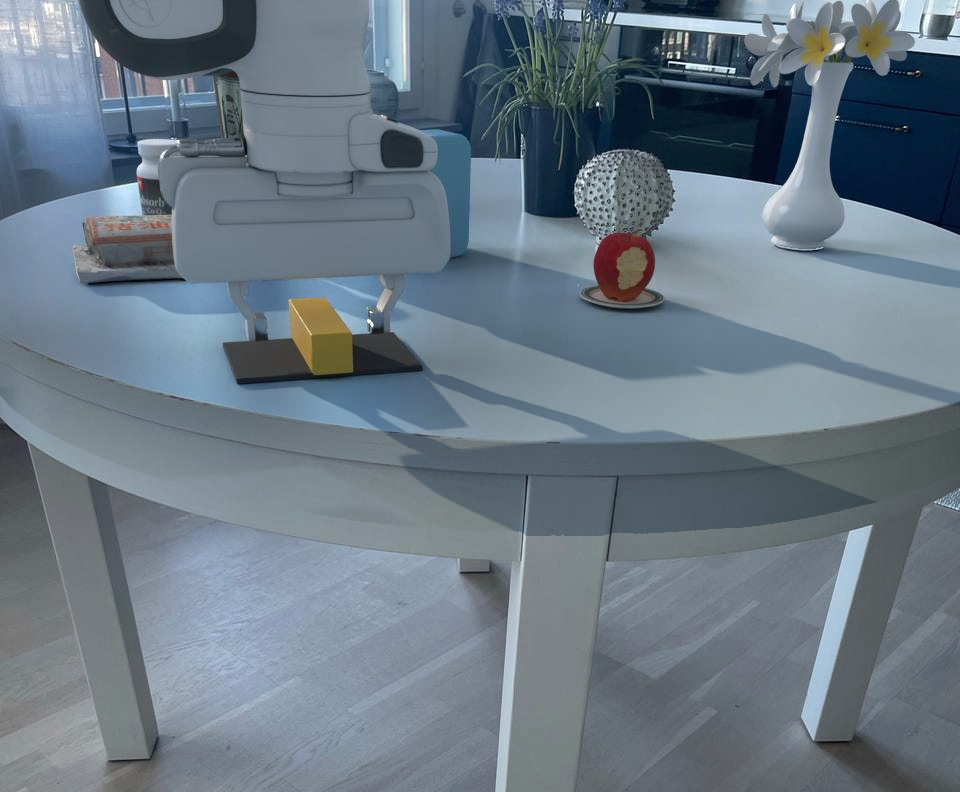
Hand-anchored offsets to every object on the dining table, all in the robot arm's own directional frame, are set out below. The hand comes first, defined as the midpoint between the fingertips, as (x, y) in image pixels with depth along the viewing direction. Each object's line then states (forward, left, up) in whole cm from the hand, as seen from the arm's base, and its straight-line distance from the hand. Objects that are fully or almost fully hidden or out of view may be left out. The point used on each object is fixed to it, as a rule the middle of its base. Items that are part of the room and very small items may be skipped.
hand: (318, 335), depth 78 cm
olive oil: (+5, +62, -2) cm, 62 cm away
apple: (+31, +11, -2) cm, 33 cm away
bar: (0, 0, -1) cm, 1 cm away
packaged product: (-9, +31, -2) cm, 33 cm away
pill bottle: (-8, +44, -2) cm, 45 cm away
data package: (+16, +32, -2) cm, 36 cm away
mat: (0, 0, -2) cm, 2 cm away
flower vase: (+62, +30, -2) cm, 69 cm away
